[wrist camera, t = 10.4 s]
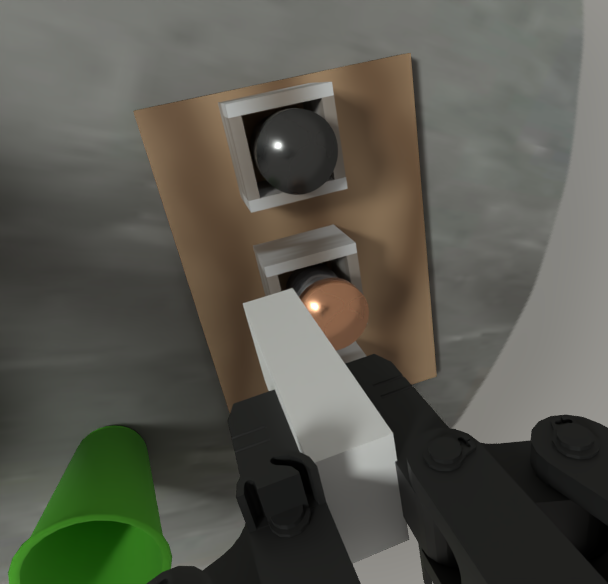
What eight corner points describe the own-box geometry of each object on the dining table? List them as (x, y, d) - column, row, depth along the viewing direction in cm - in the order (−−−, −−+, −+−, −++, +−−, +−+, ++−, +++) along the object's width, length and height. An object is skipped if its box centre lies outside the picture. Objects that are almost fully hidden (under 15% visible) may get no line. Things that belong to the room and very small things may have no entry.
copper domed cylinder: (287, 324, 33) (305, 360, 29) (273, 266, 31) (291, 295, 27) (346, 306, 34) (373, 339, 30) (337, 249, 32) (363, 275, 28)
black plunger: (253, 186, 30) (267, 203, 26) (236, 114, 29) (248, 118, 24) (318, 170, 31) (343, 184, 27) (306, 99, 29) (330, 100, 25)
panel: (236, 431, 41) (246, 481, 35) (134, 110, 30) (127, 114, 24) (430, 369, 43) (465, 407, 38) (402, 54, 32) (446, 47, 27)
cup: (98, 382, 36) (71, 493, 26) (194, 436, 40) (202, 550, 30) (25, 465, 37) (-28, 601, 27) (126, 509, 41) (111, 642, 31)
